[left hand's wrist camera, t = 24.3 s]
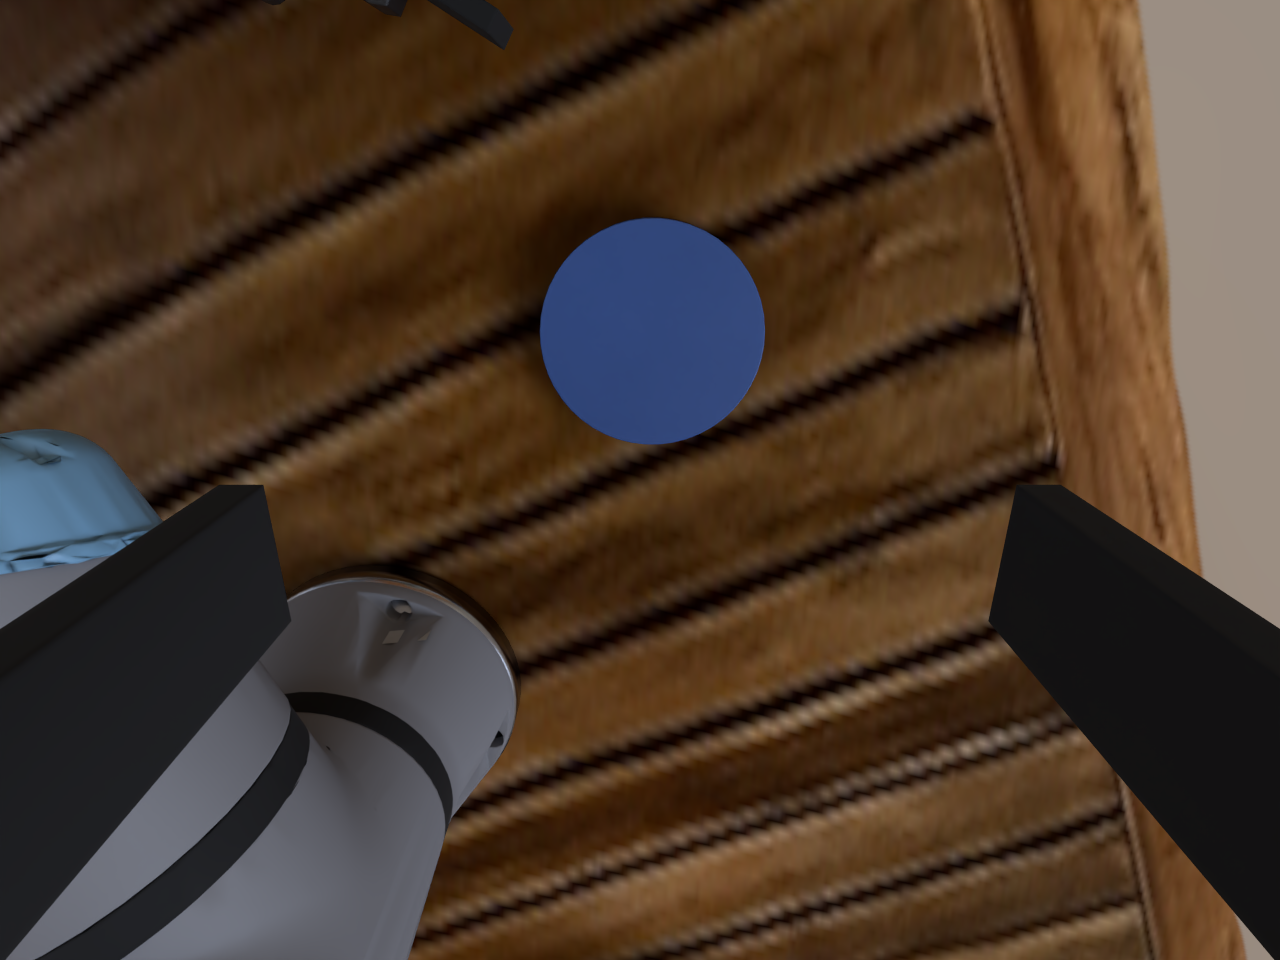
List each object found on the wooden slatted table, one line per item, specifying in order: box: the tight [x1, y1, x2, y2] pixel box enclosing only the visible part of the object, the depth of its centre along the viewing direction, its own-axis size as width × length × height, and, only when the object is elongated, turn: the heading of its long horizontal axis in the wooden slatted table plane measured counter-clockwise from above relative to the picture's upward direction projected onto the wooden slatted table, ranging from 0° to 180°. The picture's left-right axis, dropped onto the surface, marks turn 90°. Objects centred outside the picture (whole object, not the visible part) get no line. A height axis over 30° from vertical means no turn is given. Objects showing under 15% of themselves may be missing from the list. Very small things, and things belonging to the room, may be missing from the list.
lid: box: [540, 217, 765, 444], centre depth 33 cm, size 10×10×2 cm
